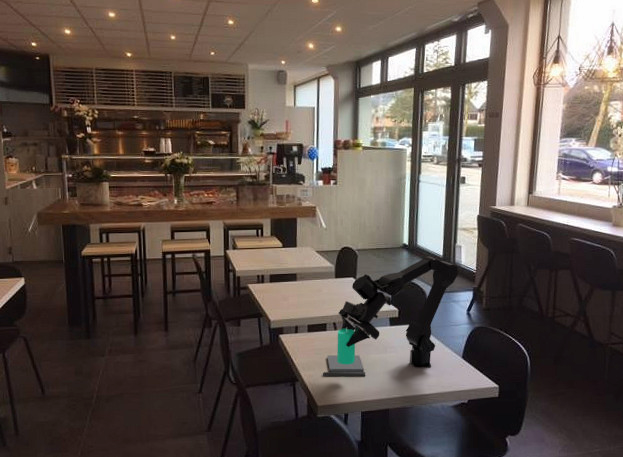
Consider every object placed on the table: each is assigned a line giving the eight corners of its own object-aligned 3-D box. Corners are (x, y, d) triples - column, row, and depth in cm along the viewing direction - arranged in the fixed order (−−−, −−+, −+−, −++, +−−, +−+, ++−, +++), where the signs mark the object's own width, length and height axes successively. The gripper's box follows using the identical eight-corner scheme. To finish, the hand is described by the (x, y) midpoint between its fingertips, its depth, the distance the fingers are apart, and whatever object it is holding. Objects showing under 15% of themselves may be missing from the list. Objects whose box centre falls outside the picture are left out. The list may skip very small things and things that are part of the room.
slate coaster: (359, 357, 205) (359, 355, 205) (363, 371, 193) (363, 369, 193) (327, 357, 205) (327, 355, 204) (329, 371, 193) (329, 369, 193)
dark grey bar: (364, 375, 191) (364, 371, 191) (365, 377, 190) (365, 373, 190) (322, 375, 190) (322, 371, 190) (322, 377, 189) (322, 373, 189)
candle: (352, 365, 182) (353, 331, 180) (335, 363, 184) (335, 329, 182) (356, 358, 188) (357, 325, 186) (339, 356, 190) (340, 323, 188)
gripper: (343, 286, 192) (315, 320, 189) (372, 301, 176) (342, 339, 173) (362, 304, 197) (334, 338, 194) (392, 320, 180) (362, 358, 177)
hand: (342, 343), depth 184 cm, fingers closed on candle, 5 cm apart
